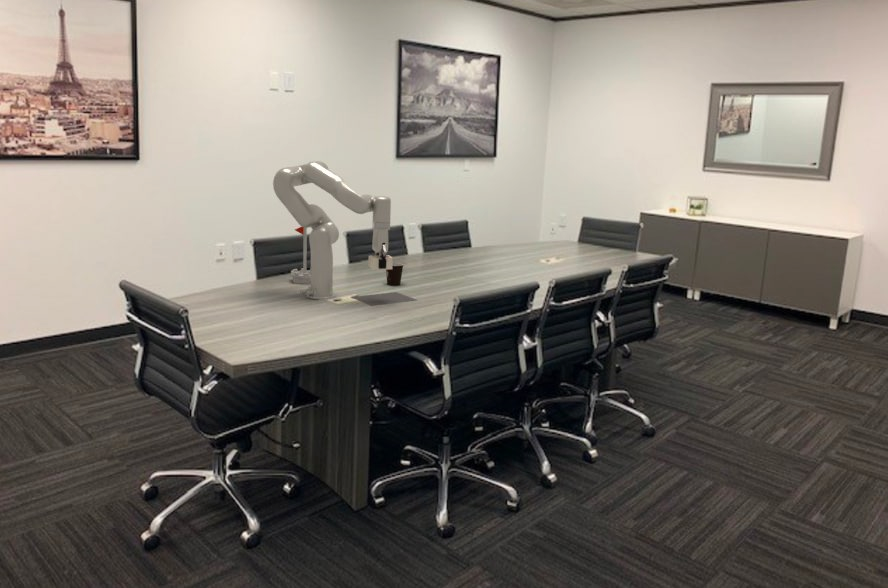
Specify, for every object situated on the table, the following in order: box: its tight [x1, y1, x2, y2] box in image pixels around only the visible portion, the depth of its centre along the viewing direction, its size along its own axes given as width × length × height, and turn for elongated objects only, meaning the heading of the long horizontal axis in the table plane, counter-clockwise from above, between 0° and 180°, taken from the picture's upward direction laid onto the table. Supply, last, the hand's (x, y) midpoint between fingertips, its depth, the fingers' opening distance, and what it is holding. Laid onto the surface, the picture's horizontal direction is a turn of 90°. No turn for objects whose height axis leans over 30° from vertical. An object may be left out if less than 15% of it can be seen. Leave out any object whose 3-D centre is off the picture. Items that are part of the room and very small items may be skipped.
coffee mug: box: [385, 262, 404, 287], centre depth 354 cm, size 12×9×10 cm
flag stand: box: [290, 226, 311, 285], centre depth 347 cm, size 13×13×30 cm
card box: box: [367, 254, 394, 271], centre depth 313 cm, size 9×6×5 cm
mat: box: [350, 291, 417, 307], centre depth 321 cm, size 24×18×1 cm
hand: (380, 266), depth 313 cm, fingers closed on card box, 6 cm apart
